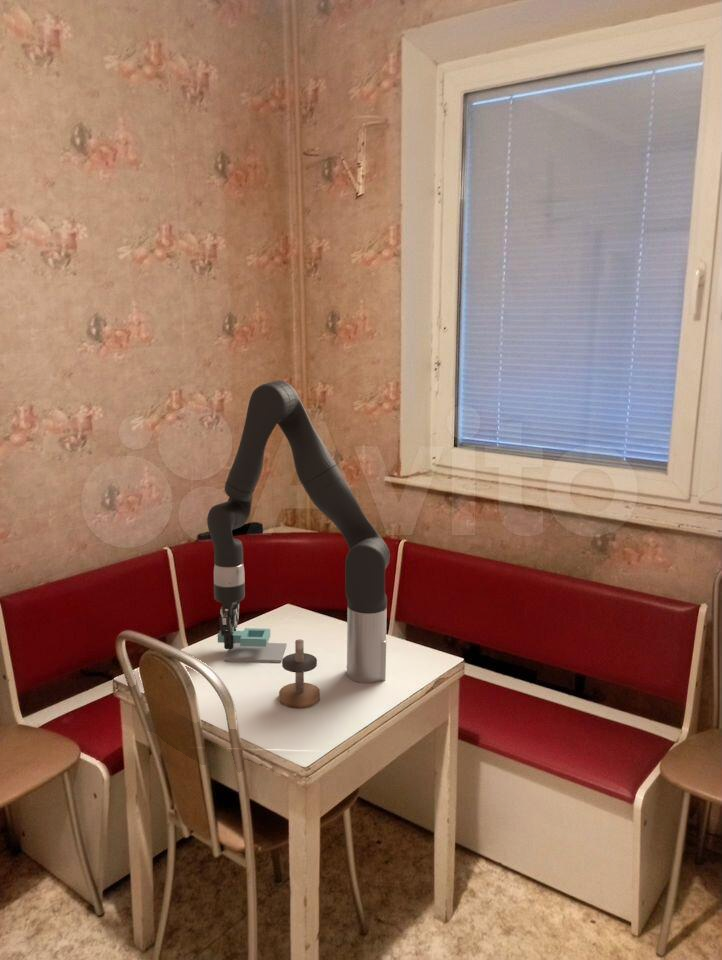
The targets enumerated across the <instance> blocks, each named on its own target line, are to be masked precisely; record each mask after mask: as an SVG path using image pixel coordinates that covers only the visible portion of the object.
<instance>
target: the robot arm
mask: <svg viewBox="0 0 722 960" xmlns="http://www.w3.org/2000/svg"><path fill="white" fill-rule="evenodd" d="M246 411H247V412H246V417H245V421H244V425H243V429H242V433H241V437H240V442H239V445H238V449H237V452H236V455H235V458H234V460H233V463H232V466H231V467H230V470H229V473H228V476H227V478H226V482H225V484H224V493H225V494H226V495H227V496H228V499H227V501H225V502H221V503H219V504H216V505H213V506H212V507H211V508H210V509H209V511H208V513H207V517H206V519H207V520H206V523H207V529H208V531H209V532H208V533H209V535H210V538H211V542H212V545H213V548H214V551H213V552H214V555H213V558H214V559H213V561H214V567H213V595H214V596H213V599H214V600H215V601H216V602H218V603H221V604H222V606H221V607H220V612H219V613H220V615H221V616H220V617H219V618H218V621H219V628H220V630H221V635H222V636H224V643H223V645H224V647H223V648H224V649H225V650H229V649H233V647H234V643H233V634H234V631H237V629H238V623H239V622H240V621H239V618H240V617H239V616H240V603H241V601H243V600H244V599H245V596H246V590H245V589H246V588H245V587H246V584H245V582H246V581H245V566H244V547H243V542H242V541H241V540H240V539H238V538H234V536H233V530H236V529H239V528H241V527H243V526H244V525H245V524H247V521H248V519H249V517H250V515H251V510H252V504H253V503H252V502H253V494H254V491H255V490H256V487H257V485H258V483H259V480H260V478H261V474H262V472H263V466H264V457H265V451H266V446H267V443H268V441H269V438H270V436H271V434H272V433H273V431H274V430H275V427H276V426H277V425H278V426H279V429H281V431H282V433H283V434H284V436H285V437H286V439H287V442H288V444H289V446H290V449H291V452H292V458H293V463H294V468H295V471H296V475H297V477H298V479H299V482H300V484H301V485H302V488H304V490H305V492H306V493H307V495H308V498H309V499H310V501H312V503H313V504H314V505H315V506H316V508H317V509H319V511H320V512H321V513H323V515H325V516H326V517H327V518H328V520H330V521H331V522H332V523H333V524H334V525H335V526H336V528H337V529H338V530H339V532H340V533H341V535H342V537H343V538H344V540H345V543H346V545H347V547H348V549H349V551H348V552H347V554H346V558H345V566H344V567H345V568H344V571H345V572H344V574H345V575H344V576H345V579H344V580H345V581H344V582H345V583H344V584H345V597H346V599H347V600H346V601H347V614H346V615H347V616H346V617H347V618H346V619H347V622H346V623H347V626H346V627H347V630H346V636H347V637H346V676H347V678H348V679H349V680H350V681H353V682H355V683H359V684H360V683H361V684H373V683H377V682H383V681H386V674H387V673H386V671H387V670H386V669H387V668H386V667H387V620H388V619H387V615H388V614H387V613H388V611H387V610H388V595H387V594H386V569H387V568H388V566H389V564H390V560H391V552H390V549H389V546H388V545H387V543H386V541H384V539H383V537H382V536H381V535H380V534H379V533H378V531H377V529H376V528H375V527H374V526H373V524H372V523H371V521H370V520H369V519H368V517H367V516H366V514H365V513H364V511H363V509H362V508H361V506H360V504H359V501H358V500H357V497H356V496H355V494H354V493H353V490H352V489H351V488H350V486H349V484H348V482H347V481H346V478H345V476H344V475H343V473H342V472H341V470H340V469H339V467H338V465H337V463H336V462H335V460H334V458H333V457H332V455H331V454H330V452H329V450H328V449H327V447H326V445H325V443H324V442H323V440H322V439H321V437H320V435H319V434H318V432H317V431H316V429H315V427H314V425H313V424H312V421H311V419H310V417H309V415H308V413H307V411H306V409H305V407H304V405H303V402H302V400H301V398H300V396H299V394H298V392H297V390H296V389H295V388H294V386H292V385H291V384H290V383H288V382H287V381H285V380H274V381H271V382H267V383H263V384H260V385H258V386H257V387H256V388H255V389H254V390H253V391H252V393H251V396H250V397H249V401H248V406H247V409H246Z"/></svg>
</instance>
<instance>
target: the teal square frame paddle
mask: <svg viewBox="0 0 722 960" xmlns="http://www.w3.org/2000/svg"><path fill="white" fill-rule="evenodd" d="M270 638H271V628H257V627H256V628H253V627H252V628H251V627H247V628H246V627H245V628H244V629H243V630H236V631H234V634H233V643H240V646H255V647H266V646H267V644H268V643H269V641H270ZM217 643H221V644H222V643H223V644H224V636H222V635H221V629H220V630H219V631H218V634H217Z"/></svg>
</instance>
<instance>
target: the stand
mask: <svg viewBox="0 0 722 960" xmlns="http://www.w3.org/2000/svg"><path fill="white" fill-rule="evenodd" d="M294 644H295V645H294V646H295V647H294V650H295V651H294V653H290V654H288V655H284V656H283V659H282V662H281V665H282V666H281V667H282V668H283V670H285V671H288V672H290V673H295V674H294V675H295V676H294V677H295V678H294V679H295V680H294V681H295V682H293V683H292V682H291V683H288V684H286V685H284V686H282V687H281V688H280V690H279V692H278V701H279V703H280V704H281V705H283V706H285V707H287V708H290V709H297V710H298V709H306V708H311V707H313V706H315V705H317V704H319V702H320V699H321V691H320V689H319V687H318V686H316V685H315V684H314V683H313V684H312V683H309V682H304V679H305V678H304V676H305V675H304V674H305V673H306V672H309V671H313V670H314V669H315V668H317V666H318V662H317V661H318V659H317V657H316V656H314V655H313V654H310V653H306V652H305V651H304V649H305V647H304V645H305V642H304V640H303V639H296V640H295V643H294Z"/></svg>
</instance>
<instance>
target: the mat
mask: <svg viewBox="0 0 722 960" xmlns="http://www.w3.org/2000/svg"><path fill="white" fill-rule="evenodd" d="M286 649H287V643H286V642H268V644H267V646H266V647H255V646H240V643H234V647H233V649H228V652H227V653H226V655H225V658H224V662H246V663H247V662H248V663H280V664H282V659H283V658H284V656H285V652H286Z"/></svg>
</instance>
